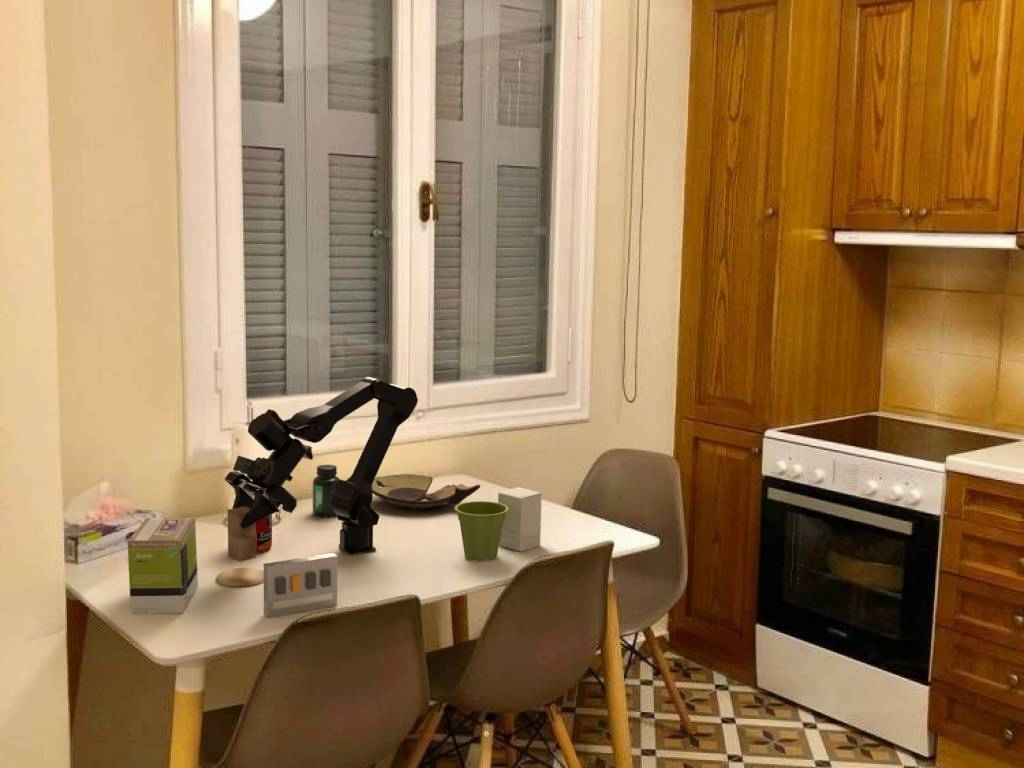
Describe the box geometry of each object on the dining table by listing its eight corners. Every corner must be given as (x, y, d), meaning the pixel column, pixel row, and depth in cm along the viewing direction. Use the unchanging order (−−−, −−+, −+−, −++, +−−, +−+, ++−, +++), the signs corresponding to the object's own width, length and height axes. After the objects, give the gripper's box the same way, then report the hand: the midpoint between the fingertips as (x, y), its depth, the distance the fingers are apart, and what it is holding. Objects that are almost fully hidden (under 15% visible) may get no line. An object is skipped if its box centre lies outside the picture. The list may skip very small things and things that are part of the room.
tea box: (147, 587, 224) (146, 515, 222) (199, 587, 225) (197, 515, 223) (128, 615, 210) (126, 538, 207) (183, 614, 211) (182, 538, 208)
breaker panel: (332, 602, 219) (333, 553, 217) (338, 607, 217) (339, 557, 215) (263, 614, 212) (263, 563, 210) (269, 619, 209) (268, 568, 208)
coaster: (257, 567, 238) (256, 565, 237) (273, 582, 229) (273, 579, 229) (210, 575, 232) (210, 572, 232) (225, 590, 224) (225, 587, 224)
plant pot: (506, 548, 256) (508, 500, 254) (507, 566, 244) (509, 515, 242) (454, 547, 255) (455, 499, 253) (452, 564, 244) (454, 514, 242)
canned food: (263, 555, 246) (263, 506, 244) (229, 551, 247) (229, 503, 246) (277, 544, 253) (277, 497, 252) (244, 541, 255) (244, 494, 253)
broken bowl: (414, 487, 306) (415, 460, 305) (492, 511, 286) (493, 482, 285) (349, 501, 290) (349, 472, 289) (426, 528, 270) (426, 497, 269)
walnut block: (245, 552, 233) (244, 506, 231) (256, 557, 230) (255, 510, 228) (228, 557, 230) (227, 509, 228) (239, 561, 227) (238, 514, 226)
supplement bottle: (319, 519, 274) (319, 471, 272) (308, 512, 280) (308, 465, 278) (345, 515, 278) (345, 468, 276) (333, 508, 283) (333, 462, 281)
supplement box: (541, 545, 259) (543, 492, 256) (519, 552, 253) (521, 498, 251) (517, 538, 264) (519, 486, 261) (495, 544, 258) (497, 491, 256)
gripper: (231, 433, 235) (185, 493, 229) (284, 448, 222) (236, 513, 216) (264, 464, 242) (220, 523, 236) (316, 480, 229) (271, 544, 223)
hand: (235, 525), depth 228 cm, fingers closed on walnut block, 4 cm apart
